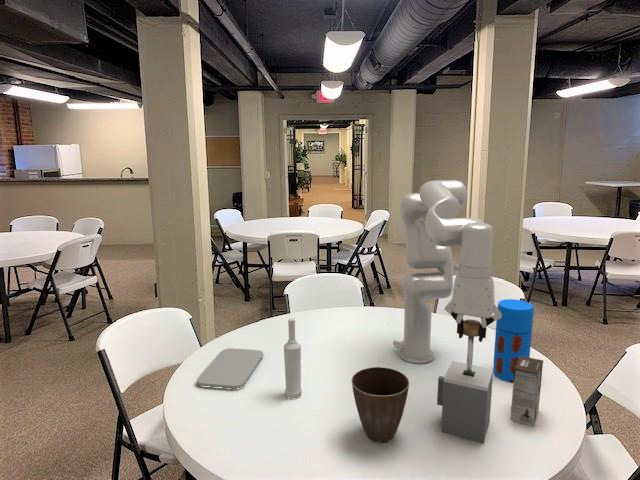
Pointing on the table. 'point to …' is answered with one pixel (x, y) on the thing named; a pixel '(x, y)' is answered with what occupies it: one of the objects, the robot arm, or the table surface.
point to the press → (465, 401)
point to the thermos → (512, 336)
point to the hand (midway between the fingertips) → (471, 337)
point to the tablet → (230, 368)
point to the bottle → (292, 363)
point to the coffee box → (526, 390)
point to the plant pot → (380, 401)
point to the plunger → (470, 340)
